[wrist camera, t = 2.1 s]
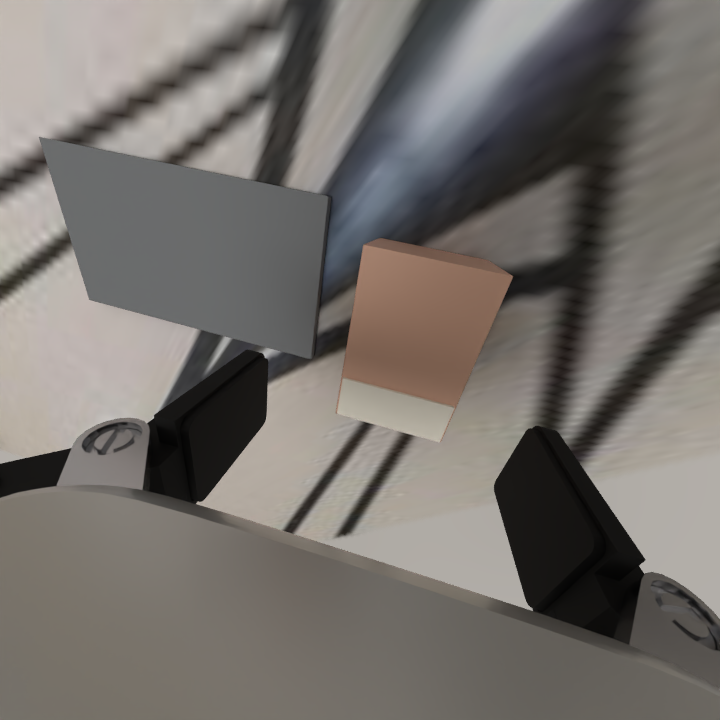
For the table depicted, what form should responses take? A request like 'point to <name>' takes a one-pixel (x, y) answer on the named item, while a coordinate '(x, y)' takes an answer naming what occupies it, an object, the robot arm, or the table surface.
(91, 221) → the mat
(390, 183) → the table surface
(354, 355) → the block
